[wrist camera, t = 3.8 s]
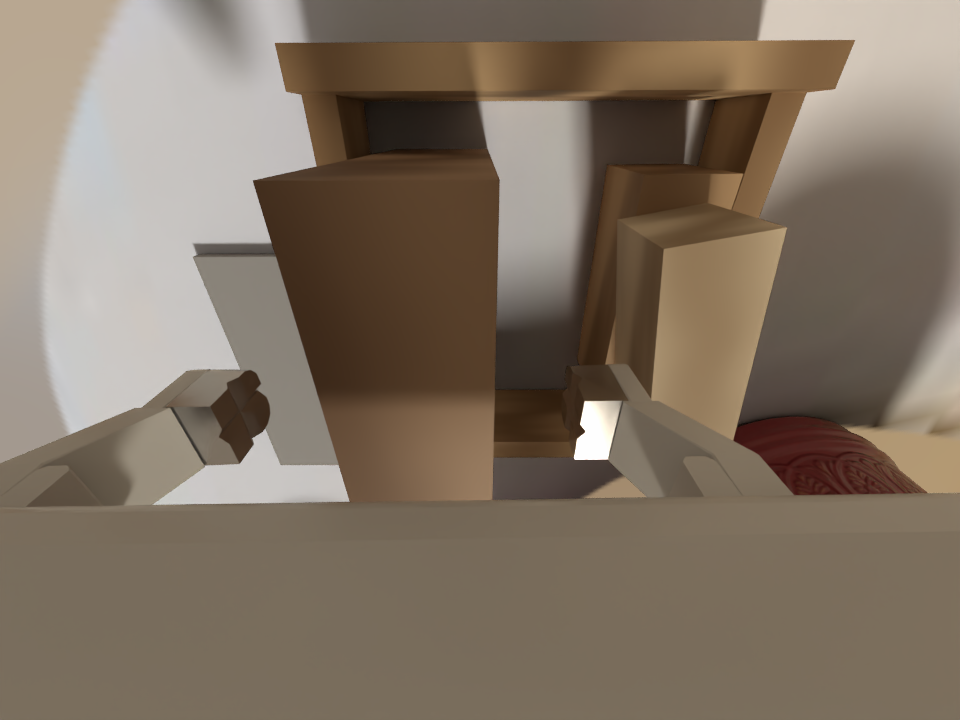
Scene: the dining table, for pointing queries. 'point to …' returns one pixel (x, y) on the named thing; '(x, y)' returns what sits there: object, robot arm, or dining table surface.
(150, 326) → the dining table surface
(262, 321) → the felt pad
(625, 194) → the offcut low
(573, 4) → the dining table surface
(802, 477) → the canister
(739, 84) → the rack
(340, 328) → the tall brown cardboard box
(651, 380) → the offcut top
